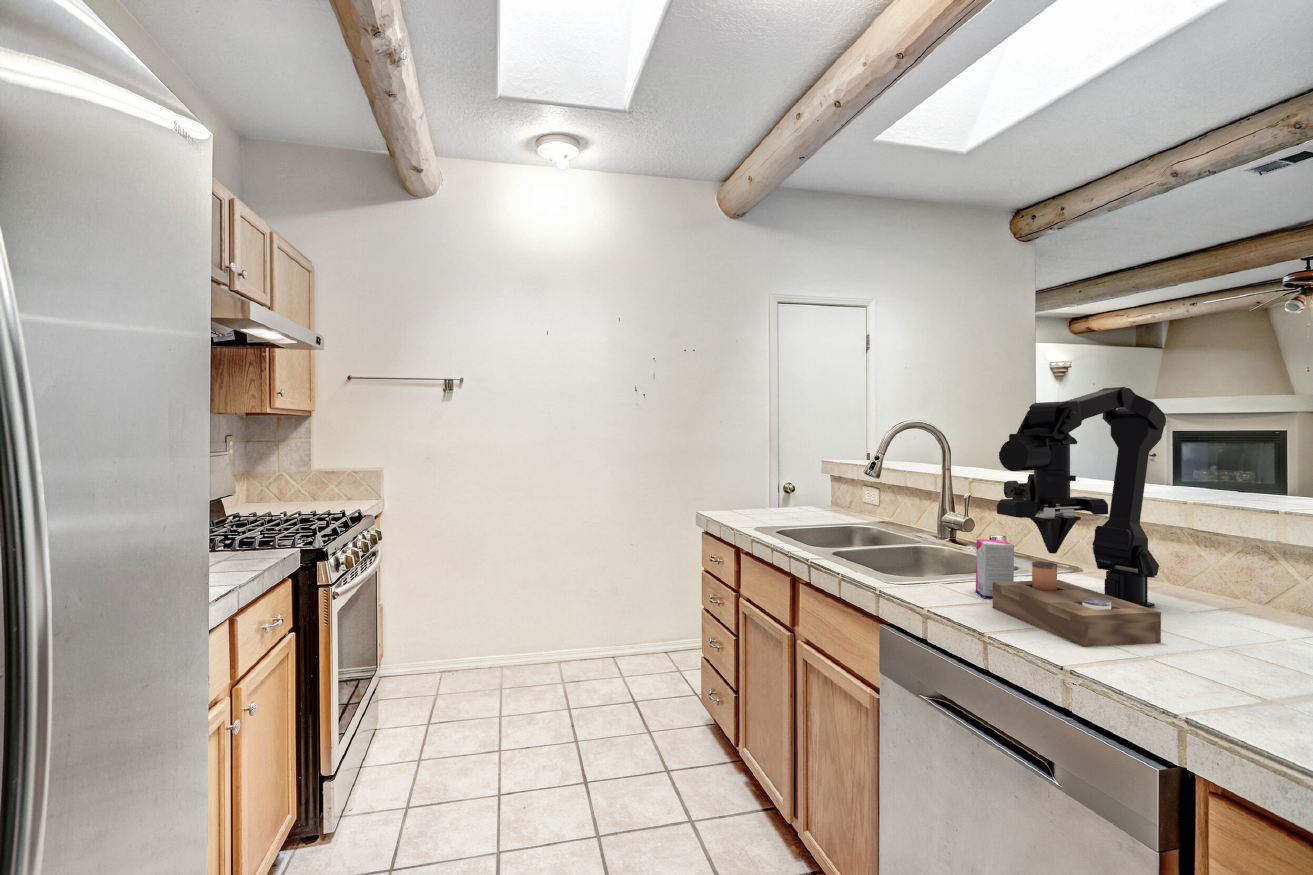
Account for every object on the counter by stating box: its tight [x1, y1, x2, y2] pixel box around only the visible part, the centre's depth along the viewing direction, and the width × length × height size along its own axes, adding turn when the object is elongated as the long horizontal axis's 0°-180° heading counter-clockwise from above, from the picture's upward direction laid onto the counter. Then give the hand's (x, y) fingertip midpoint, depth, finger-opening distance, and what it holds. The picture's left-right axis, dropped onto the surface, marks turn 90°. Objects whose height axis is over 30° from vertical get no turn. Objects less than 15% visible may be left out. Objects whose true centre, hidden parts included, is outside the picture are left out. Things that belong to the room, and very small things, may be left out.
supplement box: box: [975, 538, 1015, 600], centre depth 130 cm, size 6×6×12 cm
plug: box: [1082, 596, 1111, 610], centre depth 105 cm, size 4×4×6 cm
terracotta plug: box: [1031, 560, 1058, 591], centre depth 117 cm, size 4×4×6 cm
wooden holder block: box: [992, 579, 1162, 648], centre depth 111 cm, size 14×22×5 cm, turn 7°
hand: (1052, 553), depth 115 cm, fingers closed
